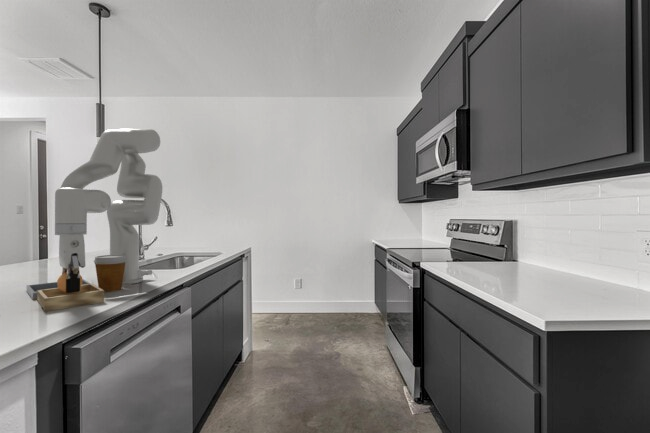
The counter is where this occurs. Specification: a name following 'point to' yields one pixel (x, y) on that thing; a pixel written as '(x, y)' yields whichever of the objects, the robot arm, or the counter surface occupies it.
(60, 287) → the ball
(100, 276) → the disposable coffee cup
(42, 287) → the container
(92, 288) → the tray
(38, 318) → the counter surface
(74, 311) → the counter surface
